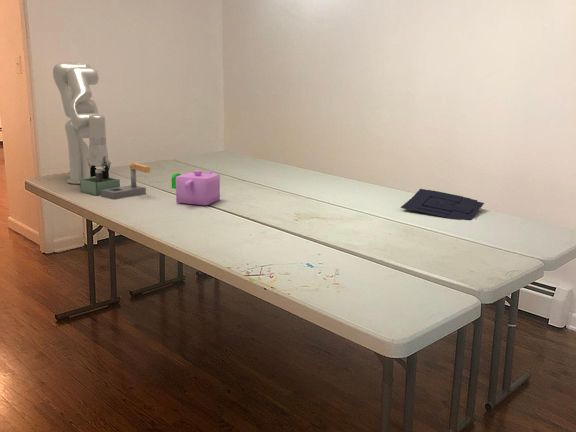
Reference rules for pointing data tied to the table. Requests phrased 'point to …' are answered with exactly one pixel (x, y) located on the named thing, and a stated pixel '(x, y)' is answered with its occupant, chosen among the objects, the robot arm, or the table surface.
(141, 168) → the keeper arm
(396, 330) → the table surface
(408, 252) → the table surface
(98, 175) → the plug
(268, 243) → the table surface
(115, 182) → the bin
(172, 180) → the mechanical part
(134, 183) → the grey post stand
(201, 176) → the teapot
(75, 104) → the robot arm
